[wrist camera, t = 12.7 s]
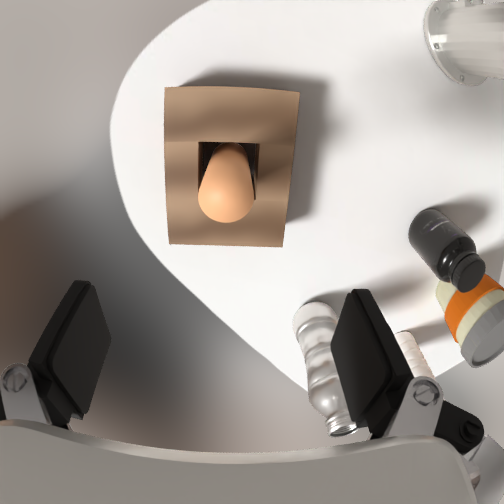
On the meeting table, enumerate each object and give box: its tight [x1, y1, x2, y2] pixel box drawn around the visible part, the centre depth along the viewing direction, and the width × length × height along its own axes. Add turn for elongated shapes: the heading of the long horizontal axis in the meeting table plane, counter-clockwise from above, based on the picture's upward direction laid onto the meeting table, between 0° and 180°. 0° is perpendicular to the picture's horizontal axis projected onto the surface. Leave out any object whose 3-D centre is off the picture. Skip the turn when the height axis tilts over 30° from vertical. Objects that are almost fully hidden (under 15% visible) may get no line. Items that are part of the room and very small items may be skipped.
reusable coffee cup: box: [436, 274, 504, 368], centre depth 36 cm, size 13×13×15 cm
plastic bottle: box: [293, 302, 360, 438], centre depth 35 cm, size 6×7×20 cm
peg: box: [198, 142, 254, 223], centre depth 26 cm, size 4×4×12 cm
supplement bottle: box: [409, 209, 486, 293], centre depth 32 cm, size 7×7×12 cm
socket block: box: [164, 86, 300, 247], centre depth 29 cm, size 16×12×5 cm
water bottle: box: [394, 331, 446, 401], centre depth 39 cm, size 9×6×25 cm
